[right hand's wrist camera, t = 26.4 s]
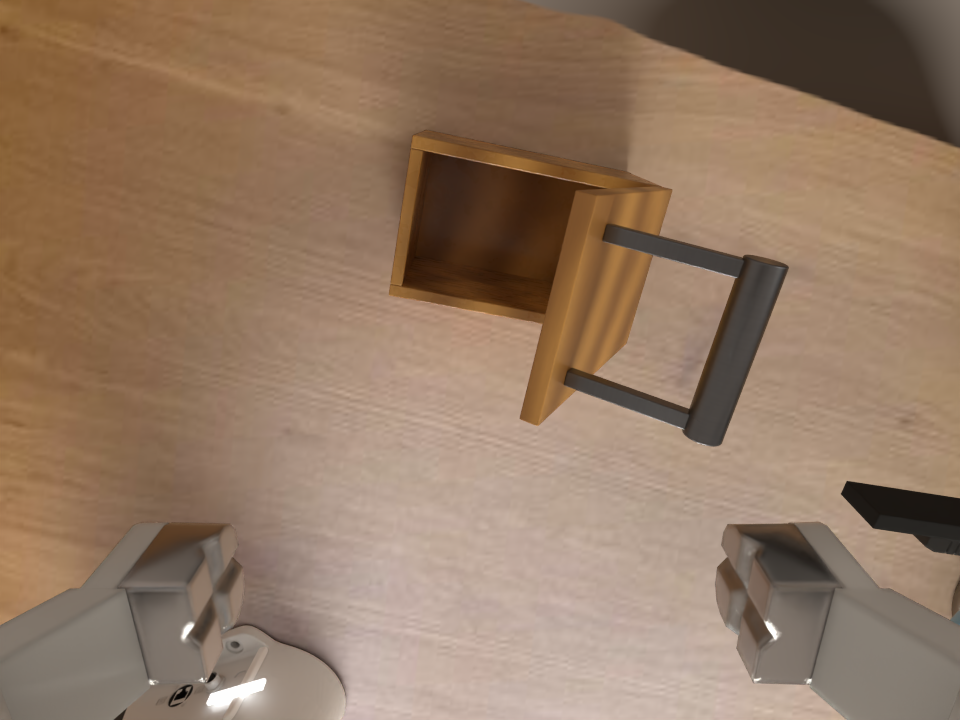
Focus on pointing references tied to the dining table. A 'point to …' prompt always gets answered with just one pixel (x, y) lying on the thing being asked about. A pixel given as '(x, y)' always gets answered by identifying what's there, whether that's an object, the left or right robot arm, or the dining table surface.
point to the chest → (487, 223)
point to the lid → (614, 300)
